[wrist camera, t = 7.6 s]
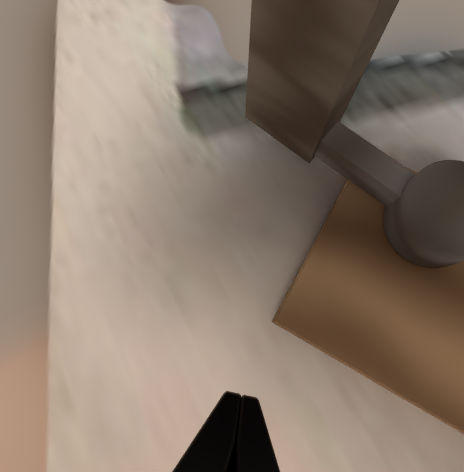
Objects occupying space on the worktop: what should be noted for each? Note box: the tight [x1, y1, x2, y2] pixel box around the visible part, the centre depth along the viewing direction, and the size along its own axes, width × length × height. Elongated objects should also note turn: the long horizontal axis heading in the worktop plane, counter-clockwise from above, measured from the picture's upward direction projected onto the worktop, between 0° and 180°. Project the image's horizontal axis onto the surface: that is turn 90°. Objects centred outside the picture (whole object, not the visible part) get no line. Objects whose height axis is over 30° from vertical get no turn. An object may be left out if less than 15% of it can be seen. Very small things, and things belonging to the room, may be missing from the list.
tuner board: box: [272, 167, 464, 434], centre depth 20 cm, size 12×14×2 cm
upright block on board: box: [245, 0, 464, 268], centre depth 15 cm, size 20×5×11 cm, turn 50°
